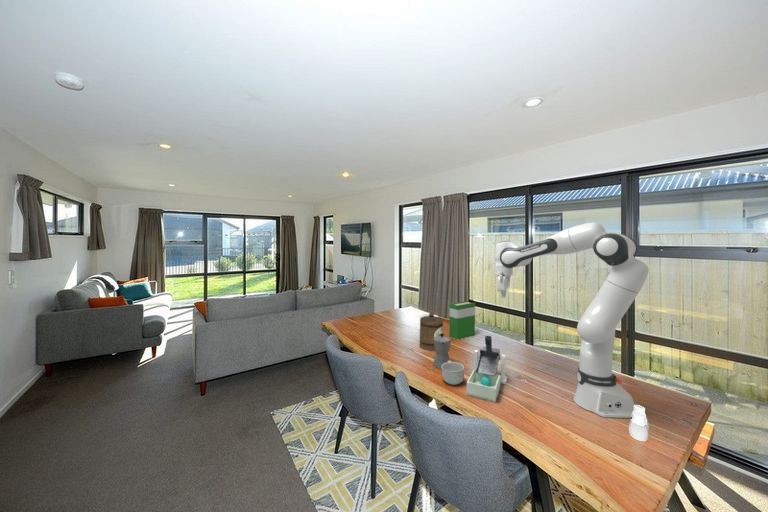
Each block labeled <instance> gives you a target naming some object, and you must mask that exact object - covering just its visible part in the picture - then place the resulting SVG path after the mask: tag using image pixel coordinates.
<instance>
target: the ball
mask: <svg viewBox="0 0 768 512" xmlns="http://www.w3.org/2000/svg"><path fill="white" fill-rule="evenodd" d="M481 383H482V384H483V385H484V386H488V385H489V384H490V380H489V378H488V377H482V379H481Z"/></svg>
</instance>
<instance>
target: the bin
mask: <svg viewBox="0 0 768 512" xmlns="http://www.w3.org/2000/svg"><path fill="white" fill-rule="evenodd" d="M500 375H501V374H498V375H497V373H496V377H494V376H489V375H485V374H480V373H476V370H474V369H473V370H472V372H471V373H470V376H468V377H469V378H468V379H467V381H466V396H468V397H472V398H476V399H480V400H484V401H487V402H492V403H497V399H498V395H499V392H500V389H501V383H500ZM482 377H488V378H489V380H490V384H489V385H488V386H484V385H483V384H482V383H481V379H482Z"/></svg>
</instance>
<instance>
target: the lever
mask: <svg viewBox="0 0 768 512" xmlns="http://www.w3.org/2000/svg"><path fill="white" fill-rule="evenodd" d="M492 338H493V337H492V335H491V336H490V335H485V337H484V343H485V346H482V348H479V352H478V361H477V365H476V369H475V370H476V373H480V374H485V375H489V376H494V377H496V374H497V371H498V366H499V362H500V361H501V359H502V356H501V349H499V348H495V347H493V345H492V343H493V342H492V341H493V339H492Z"/></svg>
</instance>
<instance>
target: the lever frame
mask: <svg viewBox="0 0 768 512" xmlns="http://www.w3.org/2000/svg"><path fill="white" fill-rule="evenodd" d="M473 353H474V354H473V356H474V357H473V370H475V369H476V365H477V361H478V357H479V349H475V350H474V352H473ZM506 359H507V357H506V354H501V359H500V361H501V367H500V368H501V371H500V374H497V373H496V374H497V375H500V384H504V385H506V384H507V380H508V376H507V375H506V364H507V363H506V362H507V361H506Z"/></svg>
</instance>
